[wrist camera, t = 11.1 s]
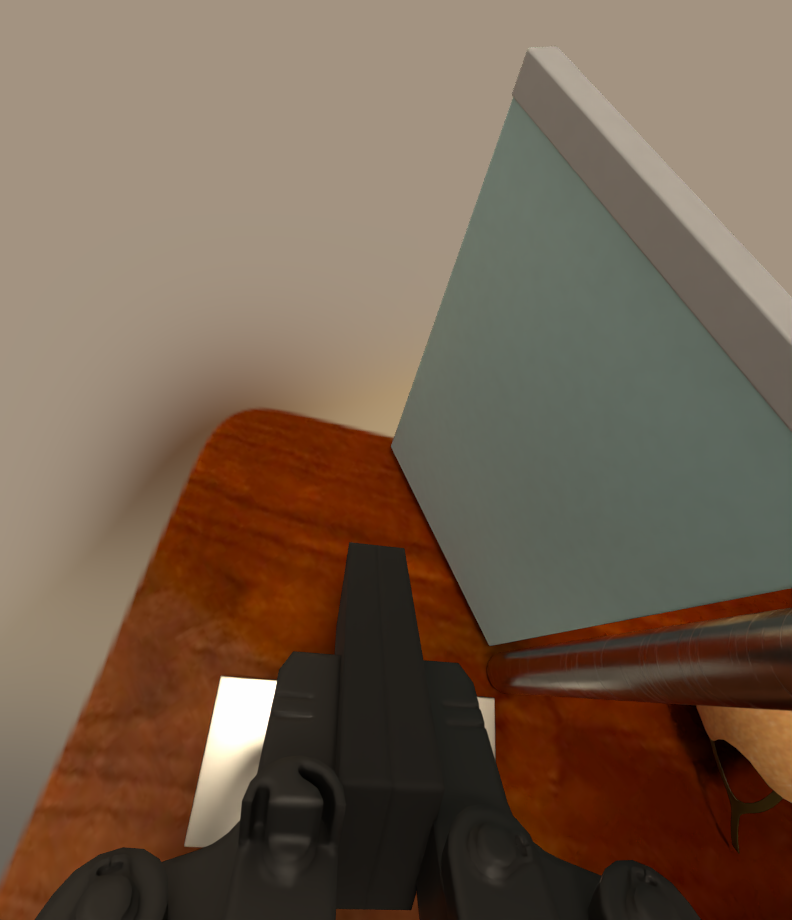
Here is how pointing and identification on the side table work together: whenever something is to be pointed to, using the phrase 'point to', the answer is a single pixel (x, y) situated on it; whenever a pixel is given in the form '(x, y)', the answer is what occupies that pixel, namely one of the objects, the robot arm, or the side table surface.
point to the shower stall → (535, 692)
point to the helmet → (754, 751)
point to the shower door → (600, 384)
